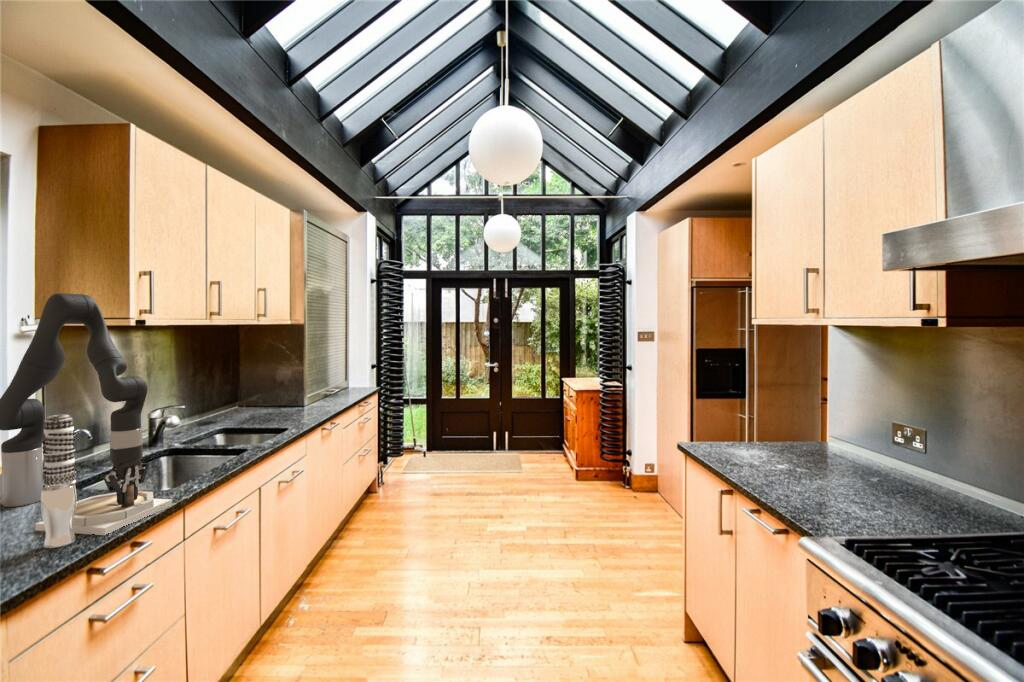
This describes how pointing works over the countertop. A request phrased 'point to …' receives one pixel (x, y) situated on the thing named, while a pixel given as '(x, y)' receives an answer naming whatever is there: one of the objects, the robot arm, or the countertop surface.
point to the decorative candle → (59, 450)
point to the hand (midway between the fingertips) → (127, 501)
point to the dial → (108, 504)
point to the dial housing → (115, 515)
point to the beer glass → (58, 514)
